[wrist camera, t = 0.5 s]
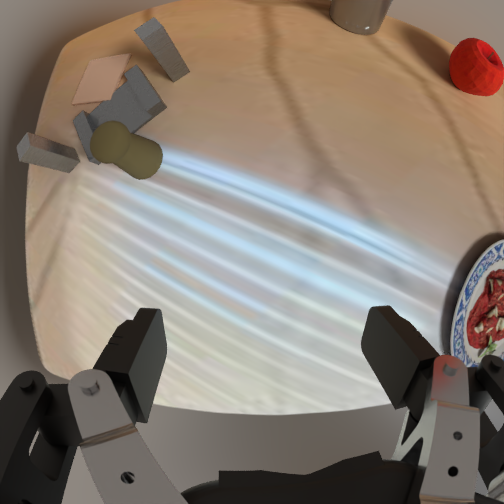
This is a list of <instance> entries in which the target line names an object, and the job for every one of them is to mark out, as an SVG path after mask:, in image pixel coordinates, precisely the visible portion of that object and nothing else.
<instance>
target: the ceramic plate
mask: <svg viewBox="0 0 504 504" xmlns="http://www.w3.org/2000/svg"><path fill="white" fill-rule="evenodd" d="M450 350H451V356H454V357H457V358H458V359H460V360H461V361H462V362H463V363H464V364H465V365H466V367H478V366H479V364H480V362H481V360H482V358H483V357H484V356H485V355H495V356H498V357H500V358H501V359H503V360H504V240H500V241H498V242H495V243H494V244H492V245H491V246H490V247H488V248H487V249H486V250H485V251H484V252H483V253H482V254H481V256H480V257H479V258H478V260H477V261H476V262H475V264H474V266H473V267H472V269H471V271H470V272H469V274H468V276H467V278H466V280H465V283H464V285H463V287H462V290H461V292H460V295H459V298H458V301H457V305H456V308H455V312H454V316H453V321H452V328H451V338H450Z"/></svg>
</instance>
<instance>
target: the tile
mask: <svg viewBox="0 0 504 504" xmlns="http://www.w3.org/2000/svg"><path fill="white" fill-rule="evenodd" d="M130 57H131V54H130V53H128V54H122V55H116V56H110V57H105V58H100V59H95V60H90V62H89V64H88V66H87V68H86V71H85V73H84V75H83V77H82V79H81V82H80V84H79V86H78V89H77V91H76V94H75V96H74V99H73V101H72V105H79V104H88V103H97V102H103V101H106V100H111V97H112V95H113V92H115V91H116V89H117V87H118V84H119V82H120V79H121V77H122V75H123V72H124V70H125V68H126V66H127V63H128V61H129V59H130Z"/></svg>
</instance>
